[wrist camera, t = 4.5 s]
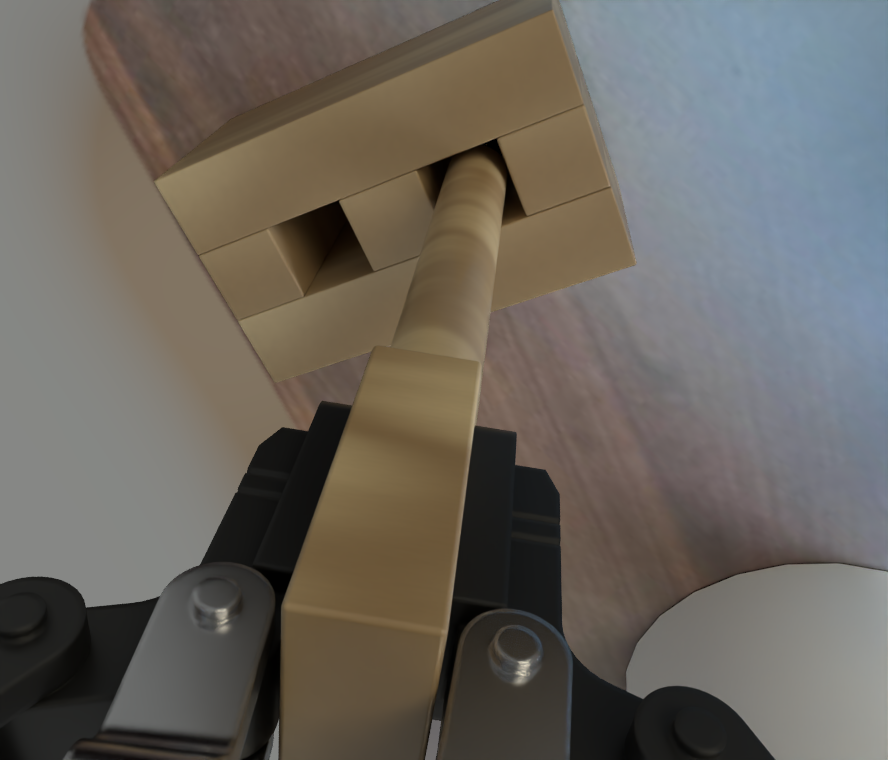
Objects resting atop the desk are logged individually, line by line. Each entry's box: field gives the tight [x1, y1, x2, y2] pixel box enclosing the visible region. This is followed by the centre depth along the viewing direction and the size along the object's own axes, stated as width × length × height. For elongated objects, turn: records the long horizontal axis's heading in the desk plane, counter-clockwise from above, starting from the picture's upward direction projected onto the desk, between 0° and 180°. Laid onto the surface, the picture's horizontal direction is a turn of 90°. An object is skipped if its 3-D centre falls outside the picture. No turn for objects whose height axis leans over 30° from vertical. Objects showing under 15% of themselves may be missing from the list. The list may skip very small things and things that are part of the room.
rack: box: [154, 0, 636, 383], centre depth 27 cm, size 7×12×7 cm, turn 113°
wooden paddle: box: [278, 145, 507, 760], centre depth 17 cm, size 2×4×19 cm, turn 173°
